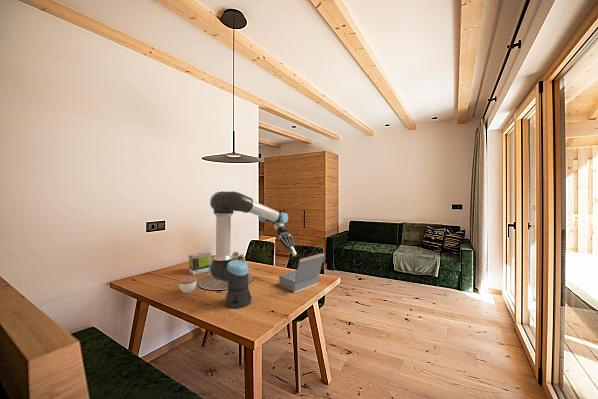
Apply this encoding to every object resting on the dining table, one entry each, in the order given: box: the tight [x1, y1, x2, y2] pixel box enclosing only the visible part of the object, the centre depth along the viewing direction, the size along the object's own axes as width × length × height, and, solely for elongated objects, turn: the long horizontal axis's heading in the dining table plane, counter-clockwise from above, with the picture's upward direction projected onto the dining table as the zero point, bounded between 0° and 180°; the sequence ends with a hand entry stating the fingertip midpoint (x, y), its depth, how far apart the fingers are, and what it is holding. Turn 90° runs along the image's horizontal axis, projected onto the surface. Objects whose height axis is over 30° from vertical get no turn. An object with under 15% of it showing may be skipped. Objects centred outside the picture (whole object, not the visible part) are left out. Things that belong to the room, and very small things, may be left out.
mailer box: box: [278, 270, 320, 293], centre depth 173 cm, size 22×16×7 cm
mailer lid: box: [295, 252, 325, 282], centre depth 164 cm, size 22×16×1 cm
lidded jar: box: [178, 276, 197, 294], centre depth 164 cm, size 11×11×9 cm
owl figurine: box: [231, 251, 246, 262], centre depth 199 cm, size 18×12×17 cm, turn 151°
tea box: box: [188, 250, 213, 276], centre depth 203 cm, size 15×10×15 cm
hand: (295, 255), depth 175 cm, fingers closed
